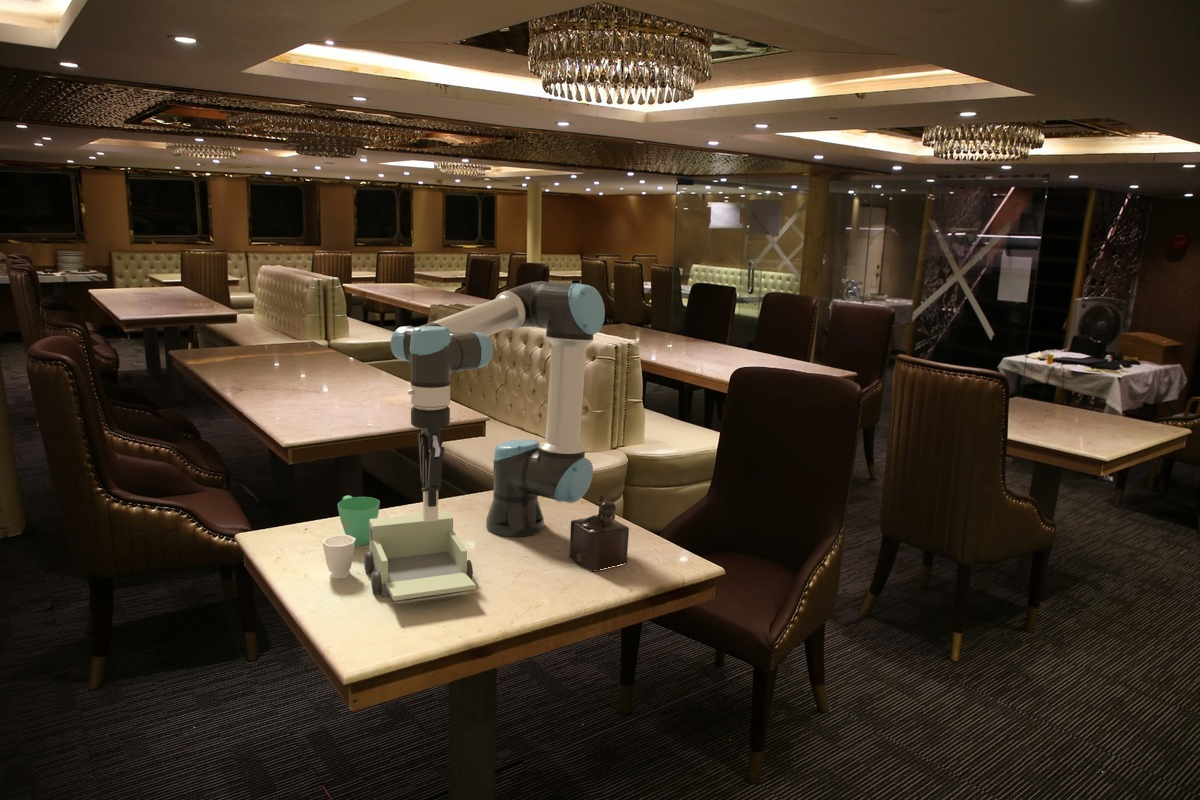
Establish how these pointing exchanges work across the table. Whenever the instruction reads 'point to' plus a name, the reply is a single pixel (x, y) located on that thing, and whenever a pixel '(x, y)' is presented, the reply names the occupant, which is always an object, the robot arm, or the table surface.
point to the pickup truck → (413, 550)
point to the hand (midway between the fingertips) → (430, 519)
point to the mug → (358, 516)
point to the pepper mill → (599, 539)
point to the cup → (339, 555)
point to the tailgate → (430, 586)
